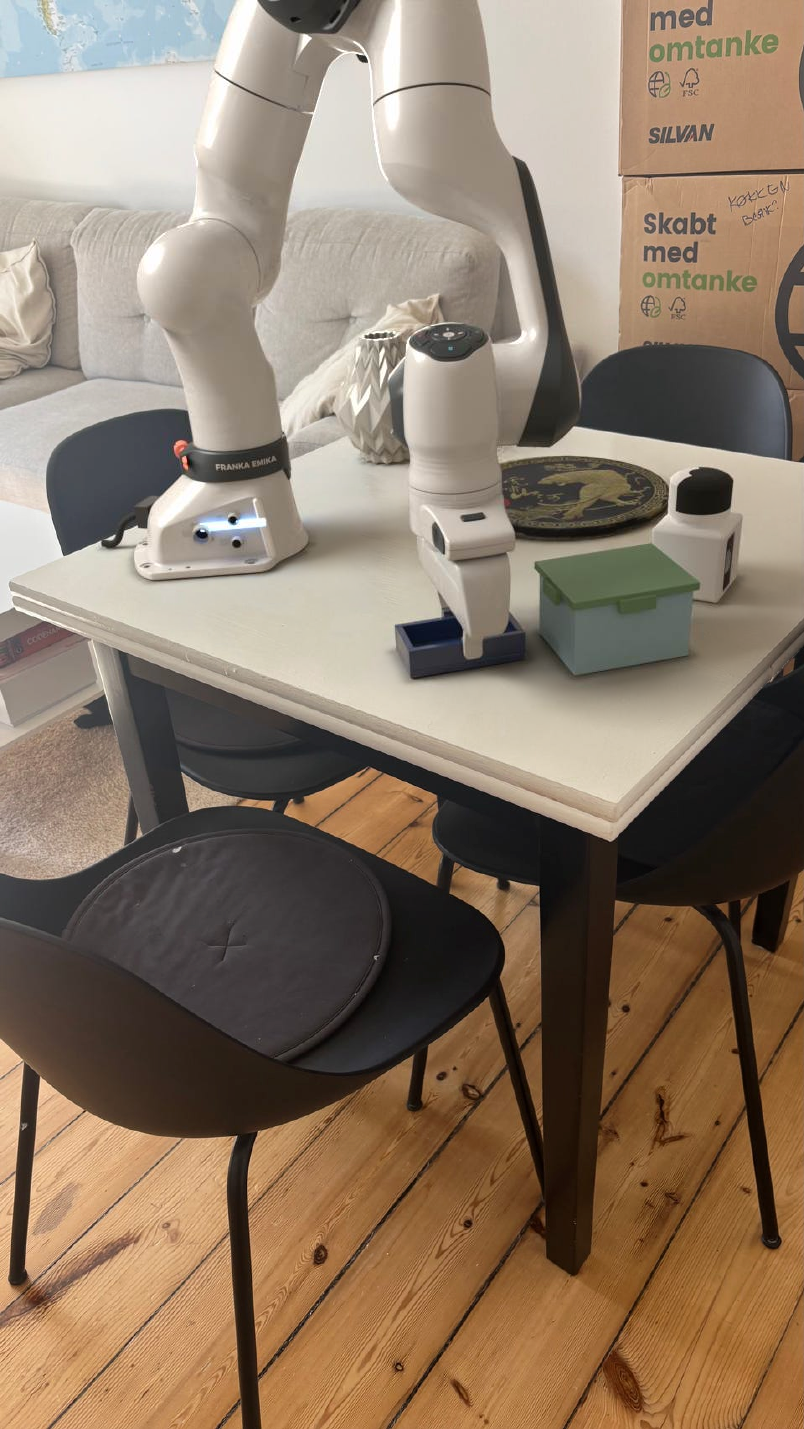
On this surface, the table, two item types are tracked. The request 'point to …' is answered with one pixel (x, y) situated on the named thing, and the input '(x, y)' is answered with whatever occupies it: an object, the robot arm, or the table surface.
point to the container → (702, 529)
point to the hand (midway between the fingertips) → (461, 639)
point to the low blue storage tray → (453, 646)
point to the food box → (615, 608)
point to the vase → (371, 397)
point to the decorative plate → (579, 497)
